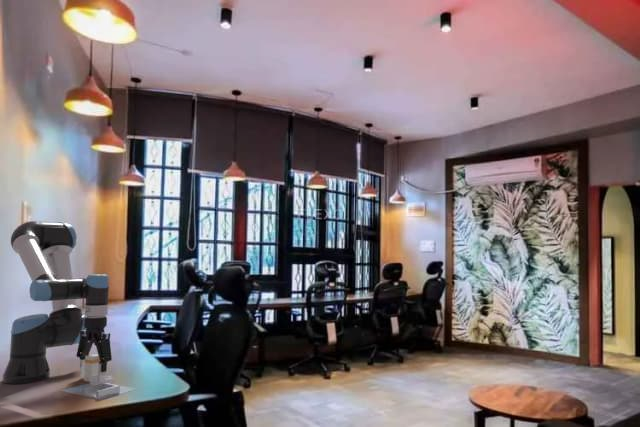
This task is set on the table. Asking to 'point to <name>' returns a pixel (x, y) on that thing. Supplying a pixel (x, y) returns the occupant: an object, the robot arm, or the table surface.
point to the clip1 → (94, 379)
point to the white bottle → (91, 366)
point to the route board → (78, 389)
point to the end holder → (100, 390)
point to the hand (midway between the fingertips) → (92, 379)
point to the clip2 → (107, 380)
